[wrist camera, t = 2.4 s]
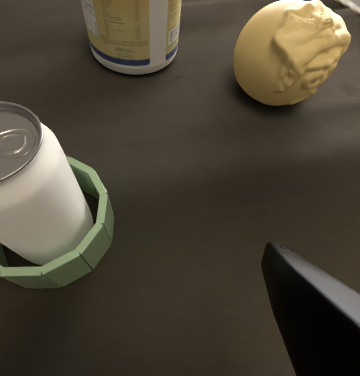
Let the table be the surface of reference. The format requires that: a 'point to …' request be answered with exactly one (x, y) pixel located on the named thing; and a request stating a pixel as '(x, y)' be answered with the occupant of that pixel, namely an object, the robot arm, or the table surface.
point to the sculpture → (289, 51)
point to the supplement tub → (133, 33)
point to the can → (37, 190)
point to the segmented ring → (85, 252)
